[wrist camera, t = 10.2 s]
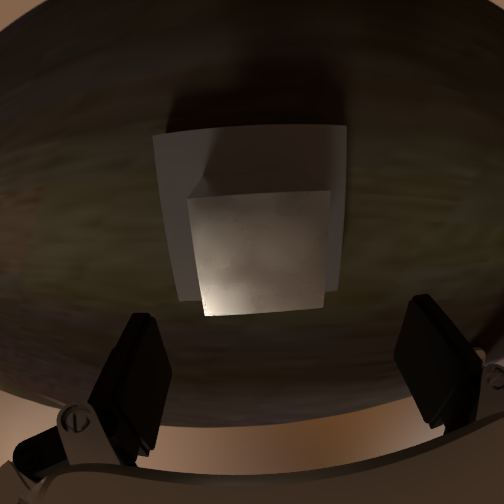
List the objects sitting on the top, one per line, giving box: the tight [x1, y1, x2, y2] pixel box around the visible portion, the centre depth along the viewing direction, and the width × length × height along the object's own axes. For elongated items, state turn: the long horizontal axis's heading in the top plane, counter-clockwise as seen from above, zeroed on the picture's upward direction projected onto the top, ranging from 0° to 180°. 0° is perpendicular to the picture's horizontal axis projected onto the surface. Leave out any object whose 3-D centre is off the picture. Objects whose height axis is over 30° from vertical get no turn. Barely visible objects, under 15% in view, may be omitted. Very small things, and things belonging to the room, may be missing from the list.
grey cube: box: [187, 170, 331, 316], centre depth 17 cm, size 7×7×6 cm
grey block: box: [153, 124, 347, 301], centre depth 19 cm, size 13×13×7 cm
